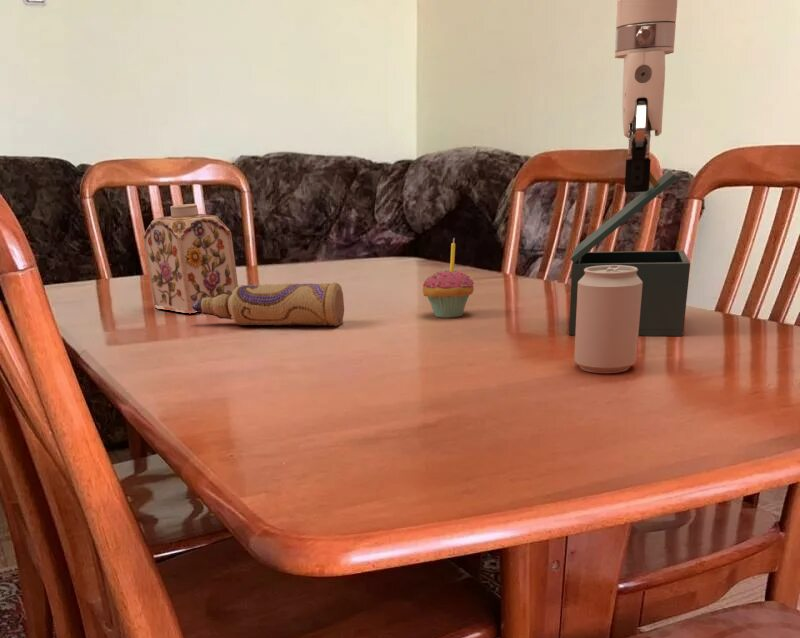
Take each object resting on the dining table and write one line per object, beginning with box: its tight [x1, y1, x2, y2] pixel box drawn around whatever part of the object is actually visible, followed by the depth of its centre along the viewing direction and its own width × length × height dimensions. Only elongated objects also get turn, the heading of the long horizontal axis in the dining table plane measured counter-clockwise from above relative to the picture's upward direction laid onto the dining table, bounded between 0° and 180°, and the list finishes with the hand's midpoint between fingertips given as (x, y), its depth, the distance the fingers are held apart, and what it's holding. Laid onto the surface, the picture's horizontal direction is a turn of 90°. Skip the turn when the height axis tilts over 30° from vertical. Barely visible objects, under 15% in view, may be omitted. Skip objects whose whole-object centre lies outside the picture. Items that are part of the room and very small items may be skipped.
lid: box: [570, 170, 678, 264], centre depth 117 cm, size 17×14×5 cm
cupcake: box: [422, 237, 475, 319], centre depth 135 cm, size 9×8×12 cm
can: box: [573, 265, 643, 374], centre depth 100 cm, size 8×8×12 cm
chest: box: [568, 250, 691, 337], centre depth 122 cm, size 16×14×10 cm
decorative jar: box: [142, 203, 239, 311], centre depth 151 cm, size 12×12×18 cm
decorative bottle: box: [192, 282, 345, 327], centre depth 135 cm, size 26×8×7 cm, turn 76°
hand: (636, 189), depth 116 cm, fingers closed on lid, 6 cm apart
